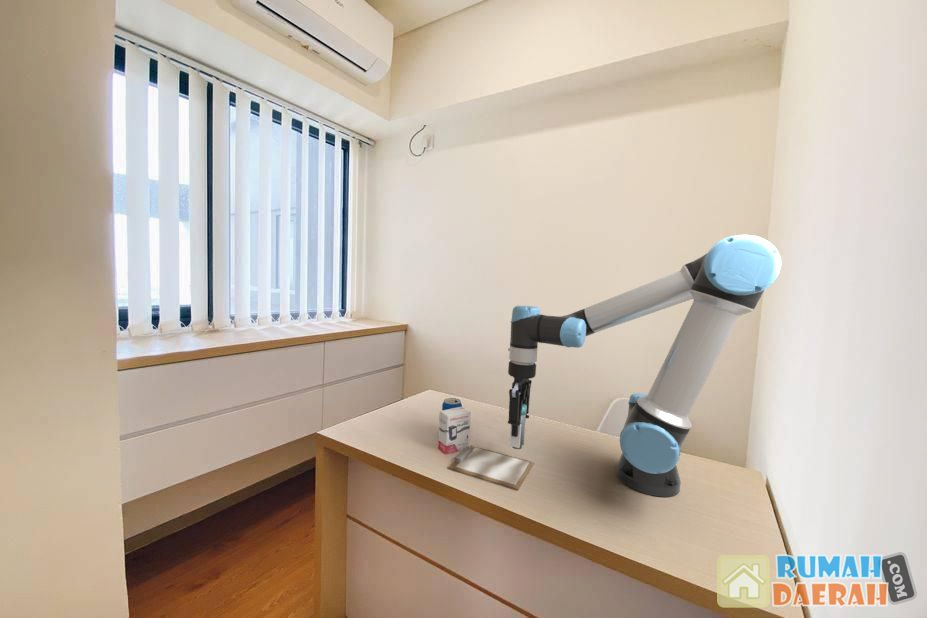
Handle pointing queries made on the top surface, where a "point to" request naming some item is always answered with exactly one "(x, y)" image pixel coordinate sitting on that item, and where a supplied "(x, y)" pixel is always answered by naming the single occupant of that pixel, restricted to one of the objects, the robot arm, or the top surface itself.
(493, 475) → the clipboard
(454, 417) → the ink box
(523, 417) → the marker
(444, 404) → the beverage can
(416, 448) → the top surface
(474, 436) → the top surface
